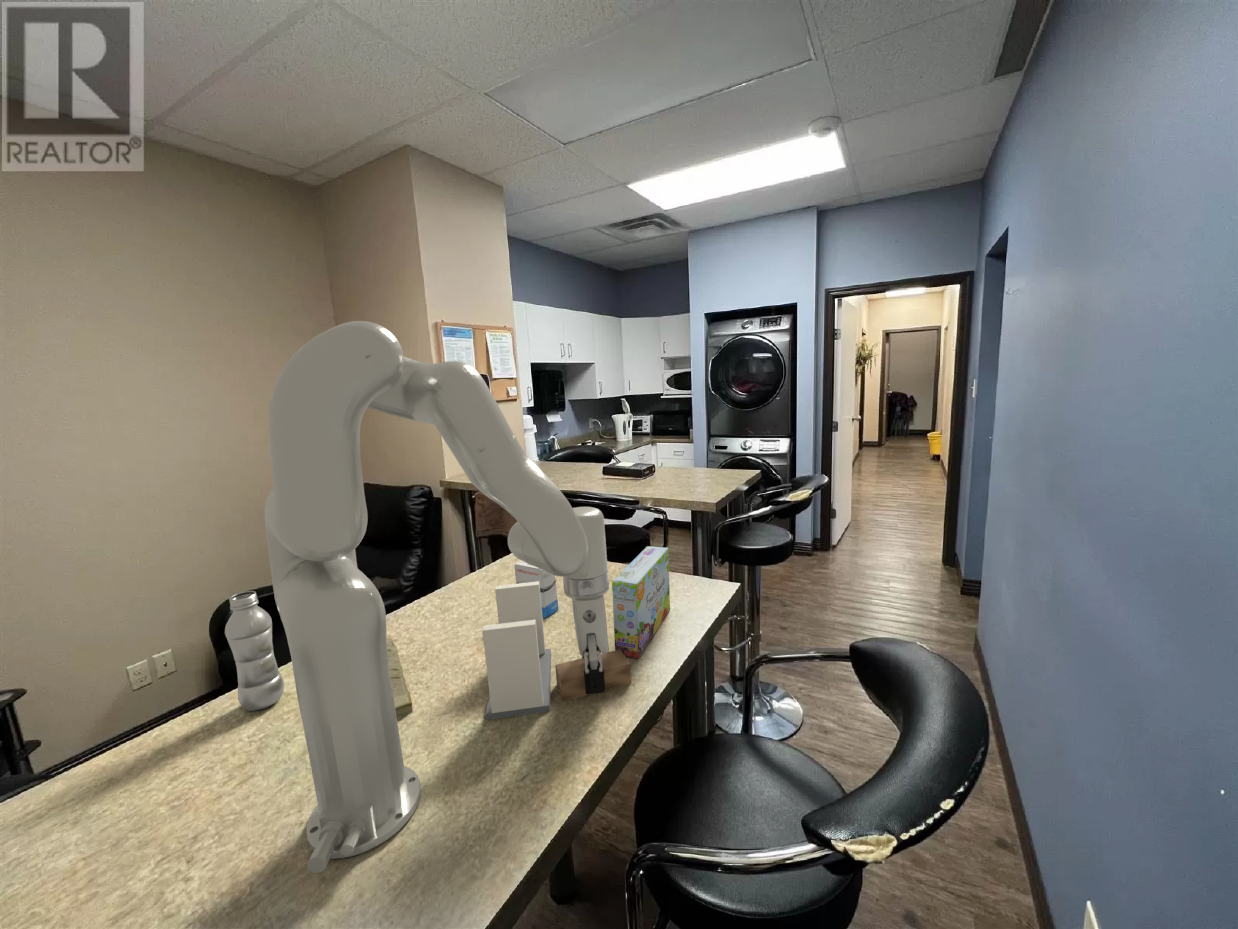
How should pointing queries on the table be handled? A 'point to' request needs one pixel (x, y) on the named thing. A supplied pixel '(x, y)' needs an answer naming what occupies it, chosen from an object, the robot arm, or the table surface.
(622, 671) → the brown wooden block
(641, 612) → the snack box
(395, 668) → the stone slab
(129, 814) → the table surface
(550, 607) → the ink box
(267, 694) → the plastic bottle
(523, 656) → the stand
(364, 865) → the table surface
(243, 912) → the table surface
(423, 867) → the table surface
